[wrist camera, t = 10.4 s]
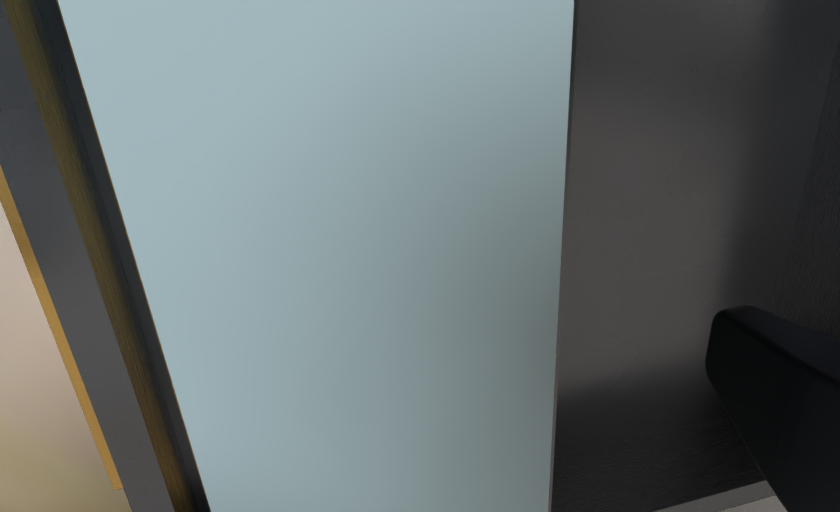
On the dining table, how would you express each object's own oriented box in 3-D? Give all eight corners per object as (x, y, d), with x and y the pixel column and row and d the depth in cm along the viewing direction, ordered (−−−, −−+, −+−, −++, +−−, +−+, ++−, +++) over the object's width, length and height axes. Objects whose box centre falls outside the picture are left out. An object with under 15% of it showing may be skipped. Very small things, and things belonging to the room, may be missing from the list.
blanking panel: (79, -190, 9) (11, -152, 5) (411, -216, 10) (585, -198, 6) (253, 500, 16) (285, 761, 12) (445, 452, 16) (539, 681, 12)
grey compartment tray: (1284, -392, 13) (1511, -425, 10) (973, 346, 21) (1065, 412, 19) (-136, -339, 9) (-232, -371, 6) (176, 551, 17) (178, 665, 15)
